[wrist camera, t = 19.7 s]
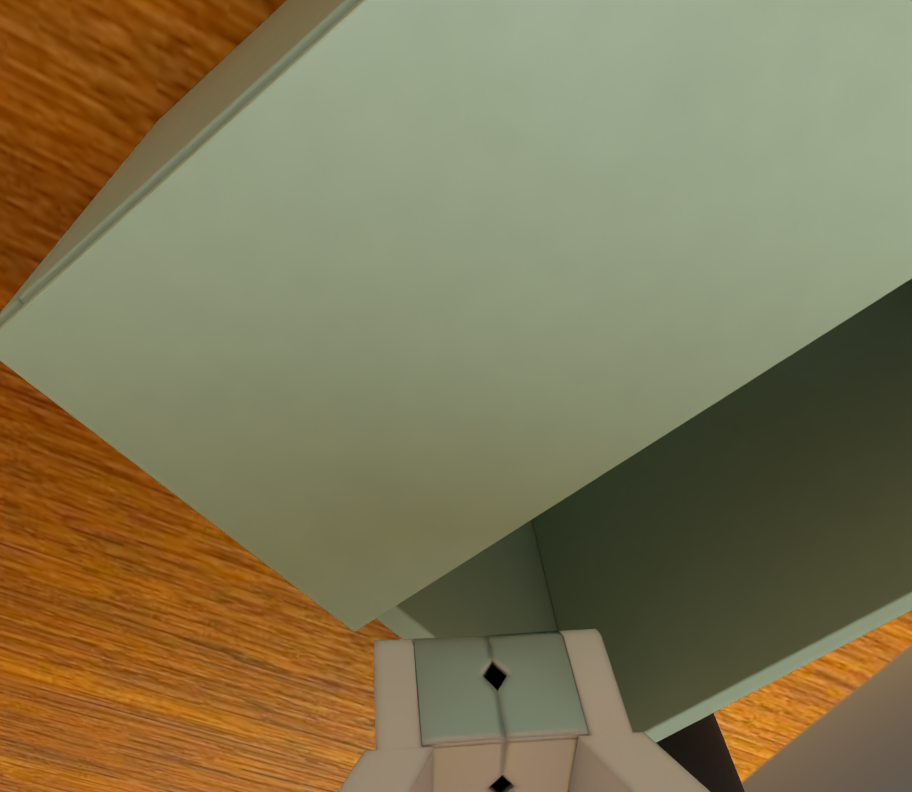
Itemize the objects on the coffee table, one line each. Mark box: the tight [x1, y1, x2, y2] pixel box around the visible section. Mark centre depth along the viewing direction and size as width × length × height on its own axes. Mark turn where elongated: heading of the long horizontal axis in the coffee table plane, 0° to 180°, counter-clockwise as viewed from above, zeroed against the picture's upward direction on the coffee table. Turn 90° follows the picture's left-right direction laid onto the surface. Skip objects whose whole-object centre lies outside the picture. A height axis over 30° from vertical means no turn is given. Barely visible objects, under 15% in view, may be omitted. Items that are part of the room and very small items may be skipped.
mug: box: [656, 713, 744, 792], centre depth 27 cm, size 8×12×10 cm
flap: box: [0, 0, 912, 632], centre depth 11 cm, size 7×13×1 cm, turn 128°
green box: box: [0, 0, 912, 742], centre depth 18 cm, size 15×13×10 cm
